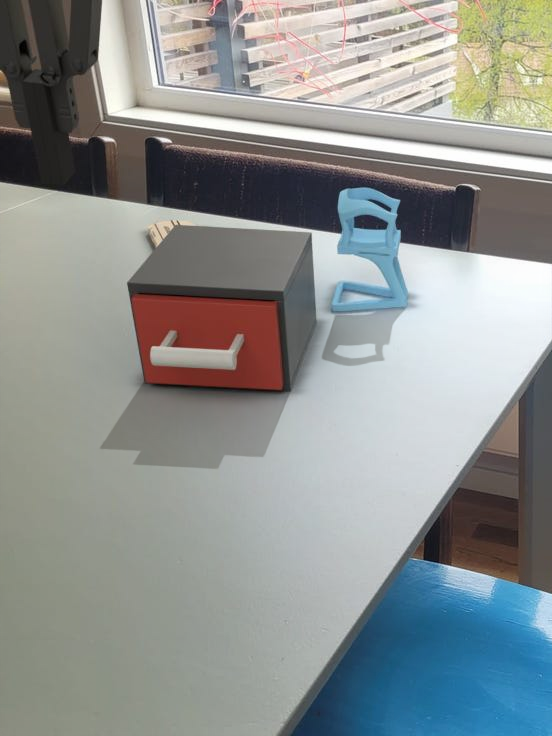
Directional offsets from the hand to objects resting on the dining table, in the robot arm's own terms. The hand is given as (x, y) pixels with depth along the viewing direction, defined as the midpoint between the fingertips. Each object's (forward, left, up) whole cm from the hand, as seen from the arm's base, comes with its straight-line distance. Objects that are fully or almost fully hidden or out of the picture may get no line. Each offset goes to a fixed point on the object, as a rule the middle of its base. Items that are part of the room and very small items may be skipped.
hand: (58, 177), depth 70 cm
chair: (+11, +40, -22) cm, 47 cm away
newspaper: (-13, +45, -22) cm, 51 cm away
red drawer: (+3, +17, -21) cm, 27 cm away
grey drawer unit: (+2, +22, -22) cm, 31 cm away
